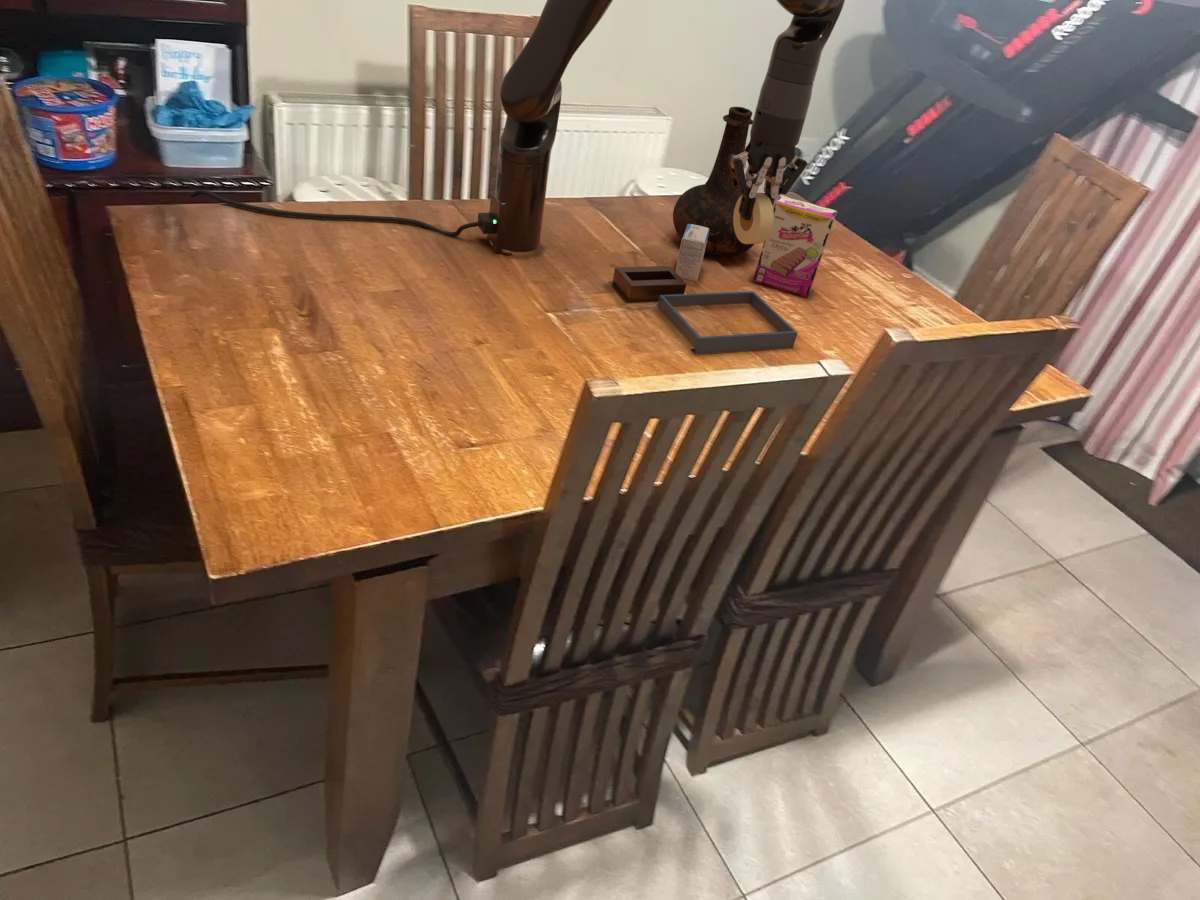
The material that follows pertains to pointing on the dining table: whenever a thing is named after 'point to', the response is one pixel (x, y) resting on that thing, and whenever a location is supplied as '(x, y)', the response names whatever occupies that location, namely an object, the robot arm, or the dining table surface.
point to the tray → (728, 341)
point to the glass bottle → (717, 194)
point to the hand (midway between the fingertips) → (753, 217)
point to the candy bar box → (794, 246)
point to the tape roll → (755, 221)
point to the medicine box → (692, 252)
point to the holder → (646, 283)
